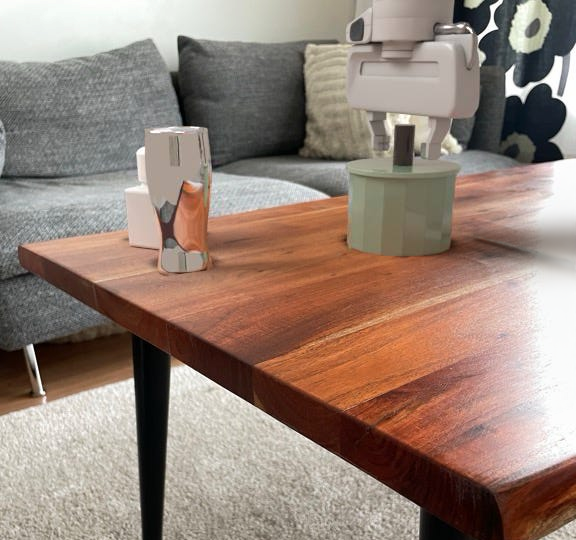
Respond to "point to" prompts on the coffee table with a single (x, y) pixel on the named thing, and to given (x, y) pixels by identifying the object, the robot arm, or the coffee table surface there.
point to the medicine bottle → (141, 210)
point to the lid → (403, 160)
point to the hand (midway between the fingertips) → (403, 154)
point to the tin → (400, 214)
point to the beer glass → (180, 195)
